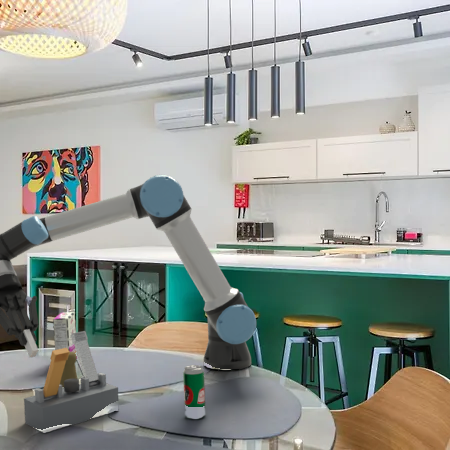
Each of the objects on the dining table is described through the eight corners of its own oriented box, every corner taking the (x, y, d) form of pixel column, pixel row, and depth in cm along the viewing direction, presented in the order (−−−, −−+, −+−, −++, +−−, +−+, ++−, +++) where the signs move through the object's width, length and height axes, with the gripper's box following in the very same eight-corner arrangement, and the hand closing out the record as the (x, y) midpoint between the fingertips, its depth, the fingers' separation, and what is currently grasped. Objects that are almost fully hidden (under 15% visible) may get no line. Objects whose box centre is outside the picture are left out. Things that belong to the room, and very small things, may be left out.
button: (61, 390, 145) (61, 380, 145) (74, 387, 147) (74, 377, 147) (68, 393, 142) (68, 383, 142) (82, 390, 144) (81, 380, 144)
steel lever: (86, 388, 148) (70, 335, 153) (99, 385, 150) (82, 333, 155) (88, 386, 147) (72, 333, 152) (101, 383, 149) (85, 330, 154)
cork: (73, 386, 170) (72, 348, 170) (83, 390, 165) (81, 352, 165) (53, 391, 166) (52, 352, 166) (63, 395, 162) (61, 356, 161)
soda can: (203, 420, 139) (201, 370, 139) (182, 420, 140) (180, 370, 140) (207, 413, 144) (206, 364, 144) (187, 412, 145) (186, 364, 145)
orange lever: (40, 396, 140) (52, 350, 134) (54, 393, 142) (66, 347, 137) (42, 401, 139) (55, 354, 133) (56, 397, 142) (69, 351, 136)
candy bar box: (62, 360, 201) (60, 312, 200) (77, 359, 201) (75, 311, 200) (54, 369, 189) (52, 318, 189) (70, 368, 190) (68, 317, 189)
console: (25, 423, 142) (23, 386, 141) (98, 402, 155) (96, 369, 155) (43, 433, 134) (42, 395, 134) (118, 411, 148) (117, 376, 148)
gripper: (23, 287, 163) (53, 357, 152) (-25, 293, 154) (4, 368, 143) (30, 269, 159) (63, 340, 148) (-18, 274, 150) (12, 350, 139)
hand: (34, 353), depth 145 cm, fingers closed
